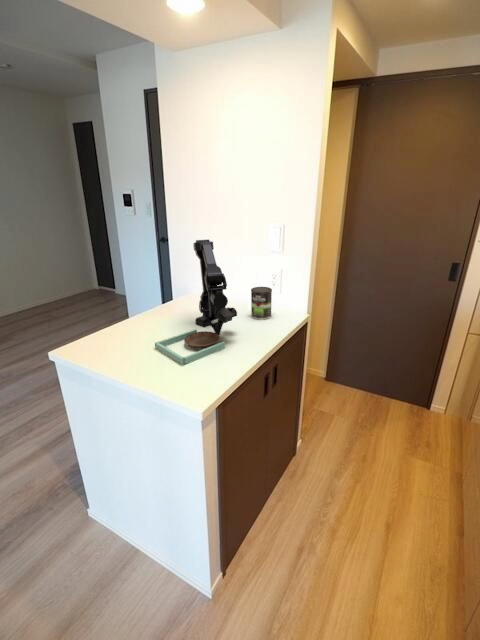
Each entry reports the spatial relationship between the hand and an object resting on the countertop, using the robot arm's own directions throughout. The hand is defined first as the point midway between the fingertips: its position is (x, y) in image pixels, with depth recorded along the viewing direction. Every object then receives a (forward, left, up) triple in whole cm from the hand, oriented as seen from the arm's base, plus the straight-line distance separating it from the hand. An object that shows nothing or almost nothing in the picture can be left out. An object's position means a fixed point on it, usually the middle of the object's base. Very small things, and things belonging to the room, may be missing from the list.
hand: (217, 335), depth 143 cm
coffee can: (-5, +32, -1) cm, 33 cm away
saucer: (0, -8, -1) cm, 9 cm away
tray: (0, -15, -1) cm, 15 cm away
